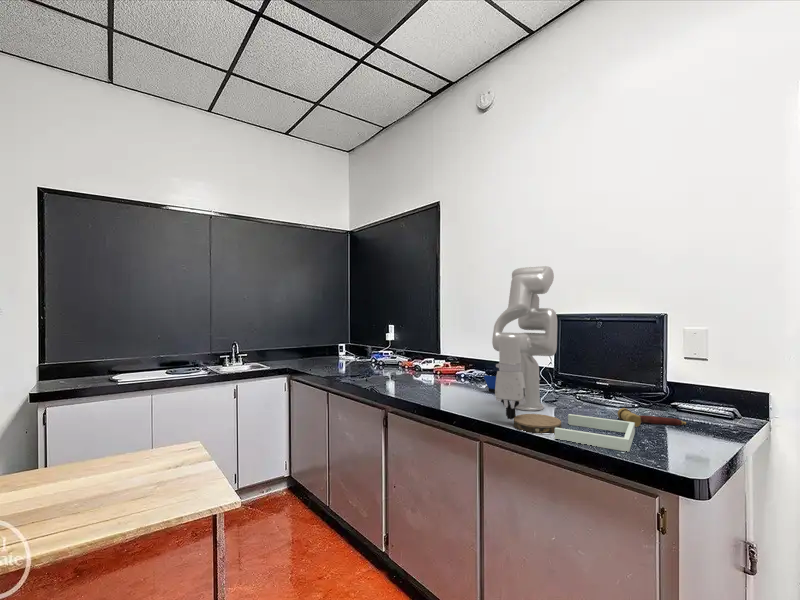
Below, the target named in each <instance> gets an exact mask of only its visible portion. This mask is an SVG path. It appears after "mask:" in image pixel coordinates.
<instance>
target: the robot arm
mask: <svg viewBox="0 0 800 600" xmlns="http://www.w3.org/2000/svg"><path fill="white" fill-rule="evenodd" d="M554 277H555V276H554V270H553V269H552V267H551V266H546V265H545V266H527V267H520V268H518V267H517V268H516V269H514V270H512V273H511V282H510V287H509V288H510V290H509V296H508V304H507V305H508V306H507V308H506V309H505V310H504V311H502V313H500V315H499V316H498V317H497V319H496V321H495V323H494V326H493V332H492V338H491V339H492V340H491V343H492V347H493V349H494V350H495V351H496V352H499V353H498V355H499V357H498V359H499V362H498V363H496V364H495V368H496V369H498V370H497V371H496V375H495V376H496V384H495V392H494V396H495V398H496V399H495V400H496V401H497V402H500V403H502V405H503V406H504V408H505V416H506V419H507V420H514V417H515V416H516V409H517V410H520V411H531V412H533V411H534V412H535V411H543V410H544V408H545V406H544V404H543V403H541V402H540V401H541V399H540V396H541V395H540V391H541V390H540V366H539V363H538V361H537V360H536V359H535V358H534V357H537V356H539V357H552V356H555V354H556V353H557V348H558V347H557V346H558V317H557V316H558V315H557V312H556V311H555V310H554V309H553V308H550V307H546V308H545V307H544V308H543V307H541V308H540V297H539V295H544V294H547V293H548V292H549V290H550V288H551V287H552V284H553V282H554ZM515 320H517V324H518V327H519V329H520V330H524V331H543V332H504V328H506V326H507V325H508V324H509V323H511V322H513V321H515Z"/></svg>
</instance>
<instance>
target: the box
mask: <svg viewBox="0 0 800 600" xmlns="http://www.w3.org/2000/svg"><path fill="white" fill-rule="evenodd" d="M567 420H568V421H567V423H568V424H569V426H575V427H584V428H590V429H595V430H596V429H598V430H604V431H610V432H617V433H625V434H624V436H623V437H622V436H615V435H608V434H600V433H596V432H595V433H594V432H588V431H582V430H575V429H567V428H562V427H561V428H555V433H554V440H555V439H560V440H567V441H572V442H576V443H575V444H578V443H581V444H580V445H584V444H587V445H586V446H590V445H592V446H591V447H596V446H597V447H596V448H601V449H609V450H614V451H621V452H626V451H627V452H626V453H630V451H631V447H632V443H633V440H634V437H635V434H636V427H635V422H627V421H624V420H620V419H619V420H618V419H611V418H610V419H609V418H604V417H603V418H602V417H595V416H588V415H580V414H573V413H572V414H571V413H569V414H568V415H567ZM568 424H567V425H568ZM560 440H559V441H560ZM572 442H571V443H572Z"/></svg>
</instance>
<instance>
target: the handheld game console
mask: <svg viewBox="0 0 800 600" xmlns="http://www.w3.org/2000/svg"><path fill="white" fill-rule="evenodd" d="M496 376H497V375H488V374H487V375H486V374H484V375H483V380H484V381H485V383H486V386H487V388H488V392H490V393H495V384H496Z"/></svg>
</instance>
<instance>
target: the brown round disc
mask: <svg viewBox="0 0 800 600" xmlns="http://www.w3.org/2000/svg"><path fill="white" fill-rule="evenodd" d="M513 428H515V429H516V428H517V429H516V430H518V429H519V431H520V430H523V431H526V432H525V433H527V432H532V433H531V434H533V433H554V434H555V428H562V421H561V419H559V418H557V417H554V416H551V415H546V414H542V413H541V414H537V413H522V414H518V415H517V414H516V415H515V417H514V418H513ZM523 431H522V432H523Z"/></svg>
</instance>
